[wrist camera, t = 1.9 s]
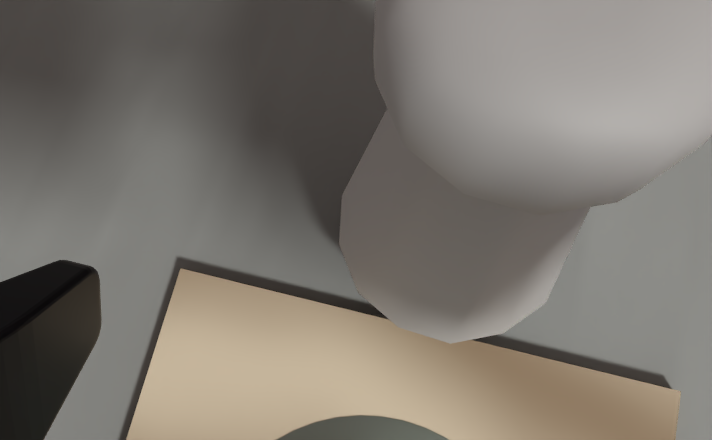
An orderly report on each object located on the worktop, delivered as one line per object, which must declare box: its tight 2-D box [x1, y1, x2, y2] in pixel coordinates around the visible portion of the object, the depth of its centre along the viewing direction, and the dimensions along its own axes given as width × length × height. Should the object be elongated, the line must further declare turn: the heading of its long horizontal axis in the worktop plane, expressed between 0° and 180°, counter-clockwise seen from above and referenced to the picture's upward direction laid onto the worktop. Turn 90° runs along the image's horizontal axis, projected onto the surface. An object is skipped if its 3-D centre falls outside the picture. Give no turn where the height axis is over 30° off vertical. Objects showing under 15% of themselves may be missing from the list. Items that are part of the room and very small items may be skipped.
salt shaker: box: [339, 0, 712, 344], centre depth 13 cm, size 6×6×13 cm
